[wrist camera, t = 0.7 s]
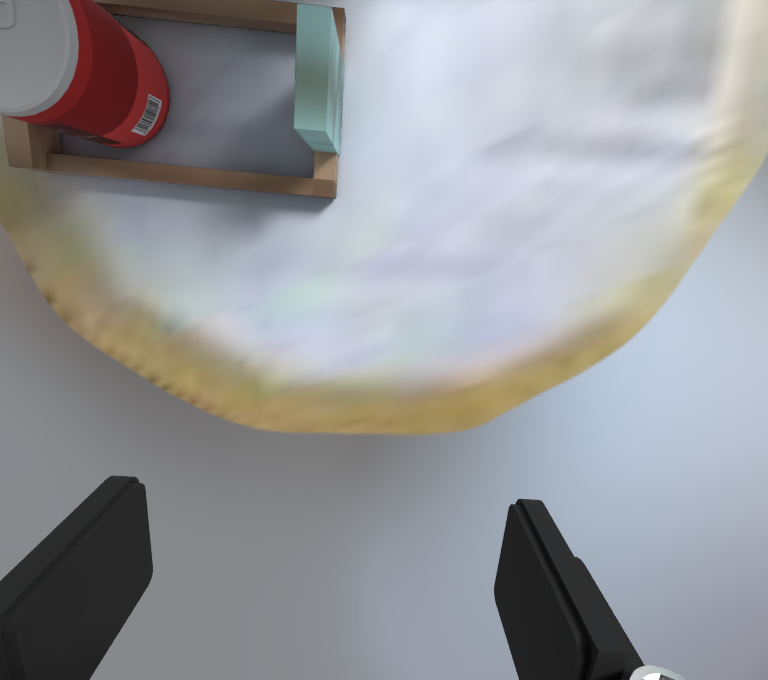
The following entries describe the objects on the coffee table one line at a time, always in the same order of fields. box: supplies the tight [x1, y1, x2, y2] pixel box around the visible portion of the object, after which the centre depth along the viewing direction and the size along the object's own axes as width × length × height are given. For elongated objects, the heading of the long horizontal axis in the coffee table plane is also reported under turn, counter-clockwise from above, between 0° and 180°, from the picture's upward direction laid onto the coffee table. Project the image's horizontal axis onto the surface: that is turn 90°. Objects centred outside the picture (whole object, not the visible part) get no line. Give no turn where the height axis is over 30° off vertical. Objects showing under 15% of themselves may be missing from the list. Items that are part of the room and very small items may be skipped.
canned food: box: [0, 0, 170, 148], centre depth 26 cm, size 8×8×11 cm
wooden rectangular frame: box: [2, 0, 346, 199], centre depth 27 cm, size 12×23×9 cm, turn 85°
